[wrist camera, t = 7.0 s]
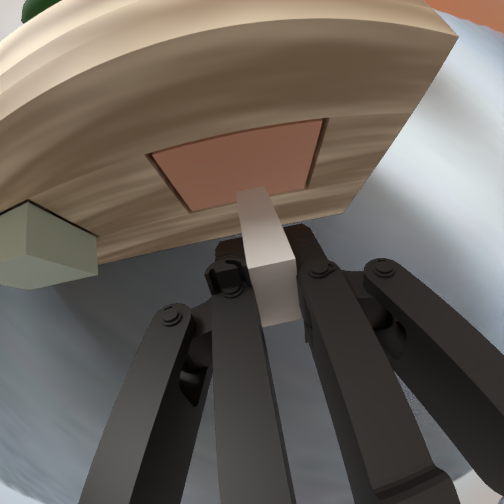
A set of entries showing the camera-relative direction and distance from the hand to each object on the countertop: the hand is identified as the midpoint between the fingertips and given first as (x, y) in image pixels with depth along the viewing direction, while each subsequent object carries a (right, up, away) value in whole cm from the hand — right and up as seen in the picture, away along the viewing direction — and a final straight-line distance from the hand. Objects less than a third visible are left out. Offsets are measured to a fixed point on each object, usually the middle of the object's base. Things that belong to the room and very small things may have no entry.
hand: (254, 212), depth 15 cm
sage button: (-16, -3, +5) cm, 17 cm away
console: (-9, +3, +14) cm, 17 cm away
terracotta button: (-1, +3, +5) cm, 6 cm away
